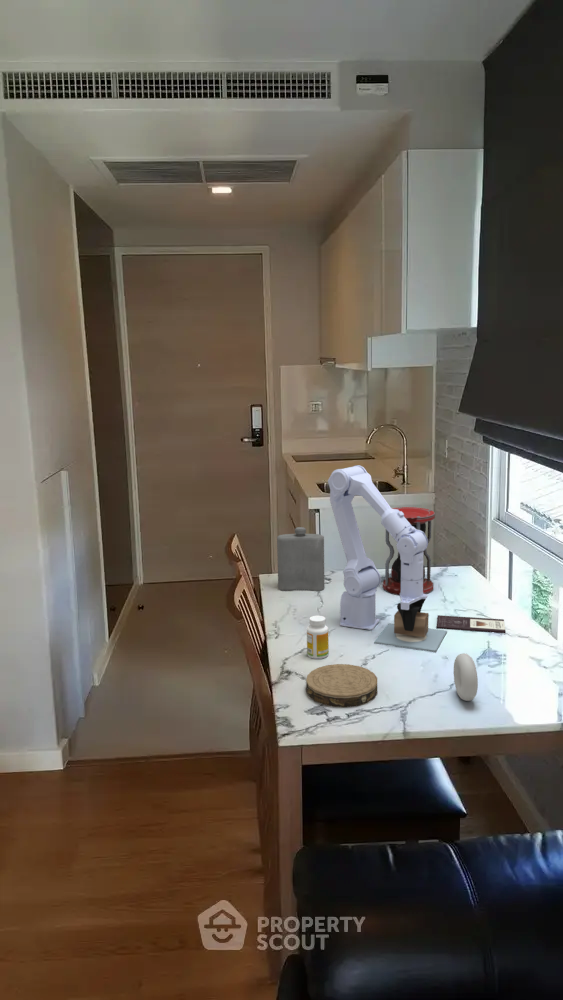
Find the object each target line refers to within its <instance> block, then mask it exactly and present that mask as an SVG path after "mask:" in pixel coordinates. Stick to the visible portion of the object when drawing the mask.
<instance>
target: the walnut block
mask: <svg viewBox="0 0 563 1000" xmlns="http://www.w3.org/2000/svg"><path fill="white" fill-rule="evenodd" d="M393 616H394V617H393V618H394V619H393V621H394V622H393V624H394V633H397V634H404V635H411V636H418V637H425V636H426V634H427V632H428V628H429V616H430V615H429V612H422V611H421V612H417V615H416V618H415V625H414V629H413V631H406V630H405V629H404V625H403V621H402V617H401V614H400V612H399V610H398V609H397V611H396V612H395V614H394V615H393Z"/></svg>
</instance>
